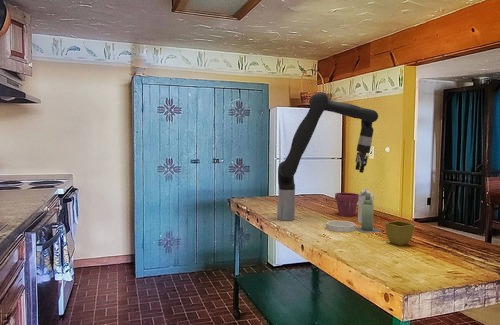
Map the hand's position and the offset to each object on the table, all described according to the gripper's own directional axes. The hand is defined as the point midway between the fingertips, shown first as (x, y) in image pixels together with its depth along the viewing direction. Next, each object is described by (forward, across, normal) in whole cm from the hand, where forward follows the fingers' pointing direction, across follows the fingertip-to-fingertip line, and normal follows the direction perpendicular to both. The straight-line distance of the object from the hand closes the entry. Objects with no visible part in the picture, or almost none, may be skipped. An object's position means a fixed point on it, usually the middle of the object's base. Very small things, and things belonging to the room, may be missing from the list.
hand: (359, 171), depth 222 cm
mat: (+24, +37, -2) cm, 44 cm away
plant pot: (+28, -2, -2) cm, 28 cm away
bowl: (+26, +36, -14) cm, 46 cm away
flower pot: (+21, +61, +5) cm, 65 cm away
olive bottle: (+23, +37, -2) cm, 44 cm away
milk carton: (+25, +19, +3) cm, 32 cm away
